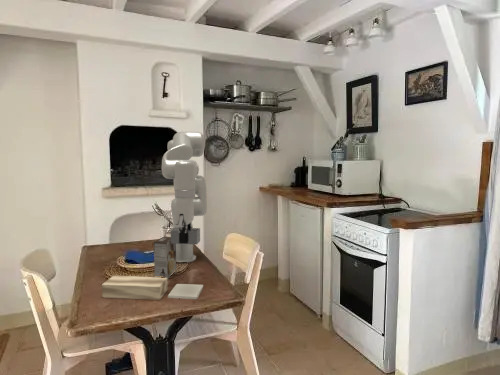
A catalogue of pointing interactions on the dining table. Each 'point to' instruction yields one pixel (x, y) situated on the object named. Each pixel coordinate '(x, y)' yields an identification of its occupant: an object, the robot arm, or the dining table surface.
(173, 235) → the grey metal block
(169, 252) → the coffee box
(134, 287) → the body
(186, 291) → the tile
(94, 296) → the dining table surface
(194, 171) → the robot arm
